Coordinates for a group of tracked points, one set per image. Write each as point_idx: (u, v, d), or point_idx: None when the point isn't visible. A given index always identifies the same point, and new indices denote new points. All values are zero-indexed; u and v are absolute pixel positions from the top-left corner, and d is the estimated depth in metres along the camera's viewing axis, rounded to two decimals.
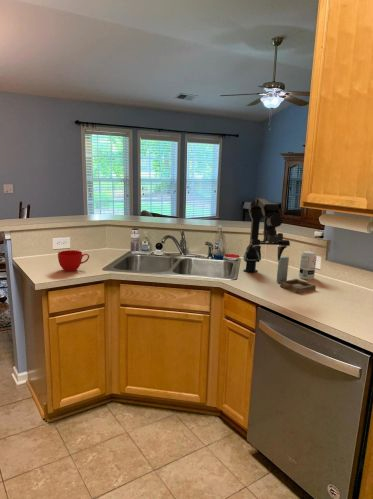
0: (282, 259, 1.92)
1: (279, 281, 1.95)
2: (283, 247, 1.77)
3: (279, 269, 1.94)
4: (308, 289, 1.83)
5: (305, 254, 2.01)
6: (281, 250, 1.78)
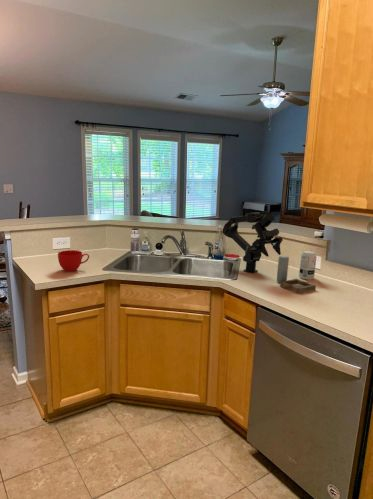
0: (282, 259, 1.92)
1: (279, 281, 1.95)
2: (279, 242, 2.03)
3: (279, 269, 1.94)
4: (308, 289, 1.83)
5: (305, 254, 2.02)
6: (278, 245, 2.03)
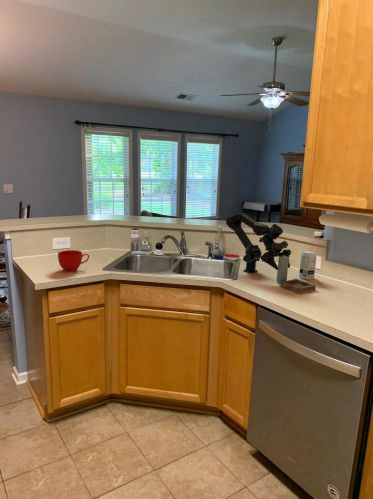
0: (282, 259, 1.92)
1: (279, 281, 1.95)
2: (288, 254, 1.99)
3: (279, 269, 1.94)
4: (308, 289, 1.83)
5: (305, 254, 2.01)
6: None
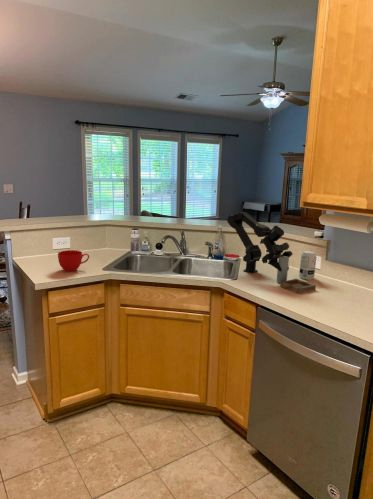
0: (282, 259, 1.92)
1: (279, 281, 1.95)
2: (287, 256, 1.97)
3: None
4: (308, 289, 1.83)
5: (305, 254, 2.02)
6: None
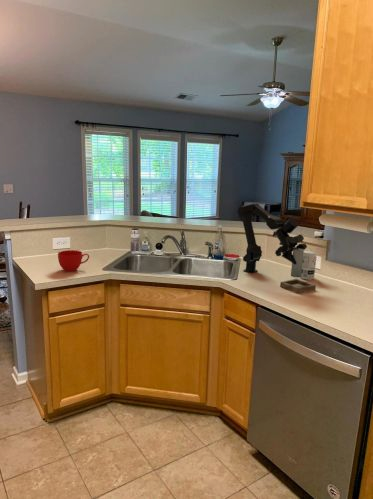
0: (297, 251, 1.83)
1: (294, 275, 1.86)
2: None
3: None
4: (308, 289, 1.83)
5: (305, 254, 2.01)
6: None
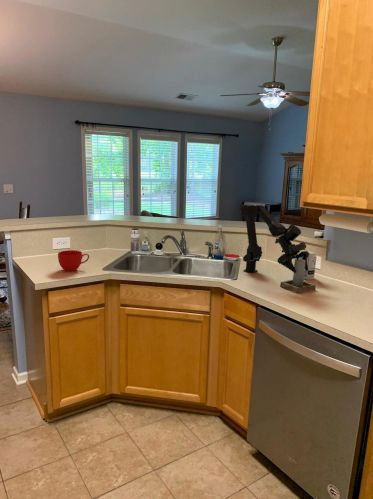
0: (298, 262, 1.83)
1: (295, 285, 1.86)
2: (306, 256, 1.89)
3: (295, 273, 1.85)
4: (308, 289, 1.83)
5: None
6: (305, 260, 1.89)
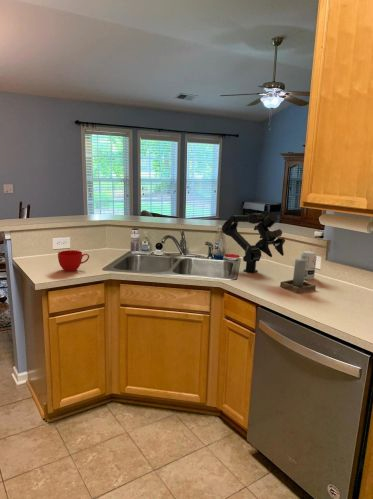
0: (299, 262, 1.83)
1: (295, 285, 1.86)
2: (282, 242, 2.02)
3: (295, 272, 1.85)
4: (308, 289, 1.83)
5: (305, 254, 2.01)
6: (281, 246, 2.02)
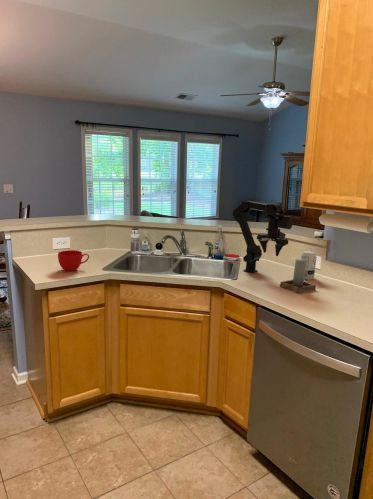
0: (299, 262, 1.83)
1: (296, 285, 1.86)
2: None
3: (295, 272, 1.85)
4: (308, 289, 1.83)
5: (305, 254, 2.01)
6: None
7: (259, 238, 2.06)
